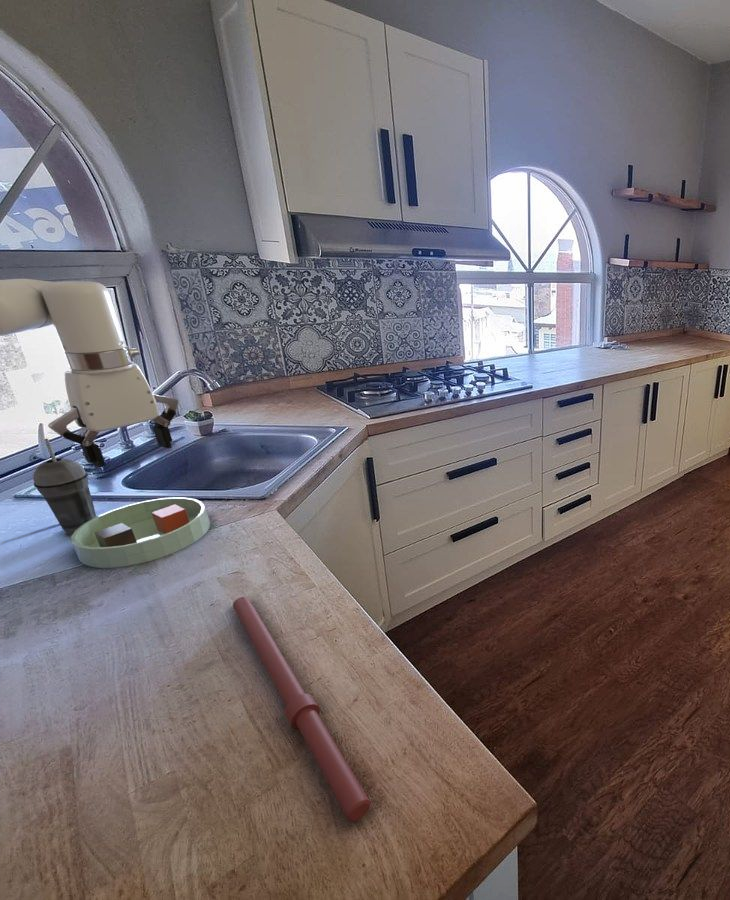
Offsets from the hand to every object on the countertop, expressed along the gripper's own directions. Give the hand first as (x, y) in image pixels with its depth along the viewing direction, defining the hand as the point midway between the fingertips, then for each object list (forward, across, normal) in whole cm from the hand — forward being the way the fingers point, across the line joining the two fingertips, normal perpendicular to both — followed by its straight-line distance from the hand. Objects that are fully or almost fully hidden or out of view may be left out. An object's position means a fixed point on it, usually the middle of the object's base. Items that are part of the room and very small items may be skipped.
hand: (133, 455), depth 89 cm
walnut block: (+18, +5, -4) cm, 19 cm away
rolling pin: (+19, +10, +53) cm, 58 cm away
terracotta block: (+18, -4, -4) cm, 19 cm away
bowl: (+19, +1, -4) cm, 19 cm away
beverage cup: (+19, +5, -19) cm, 27 cm away
